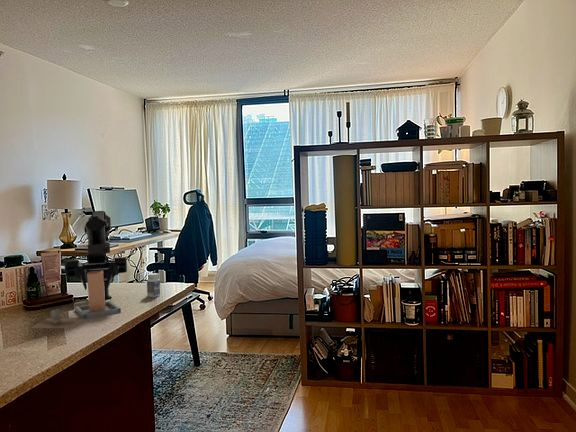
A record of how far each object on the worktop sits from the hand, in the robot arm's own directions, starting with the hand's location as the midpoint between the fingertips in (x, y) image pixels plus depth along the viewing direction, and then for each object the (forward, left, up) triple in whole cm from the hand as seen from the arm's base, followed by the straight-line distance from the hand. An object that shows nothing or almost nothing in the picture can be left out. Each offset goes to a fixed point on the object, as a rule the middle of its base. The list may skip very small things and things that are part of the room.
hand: (96, 288), depth 139 cm
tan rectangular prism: (-1, 0, -8) cm, 8 cm away
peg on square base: (+4, -13, -9) cm, 16 cm away
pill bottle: (-13, +23, -9) cm, 28 cm away
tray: (-1, 0, -9) cm, 9 cm away
